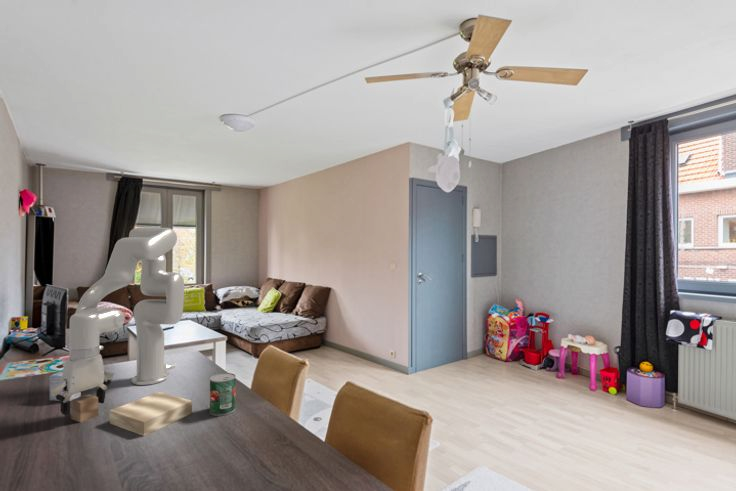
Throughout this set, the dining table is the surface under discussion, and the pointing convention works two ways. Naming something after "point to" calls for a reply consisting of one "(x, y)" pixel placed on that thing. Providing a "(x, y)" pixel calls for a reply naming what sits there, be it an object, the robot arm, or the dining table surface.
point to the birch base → (150, 413)
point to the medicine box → (56, 380)
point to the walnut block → (84, 408)
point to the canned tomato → (222, 394)
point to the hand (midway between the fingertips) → (83, 408)
